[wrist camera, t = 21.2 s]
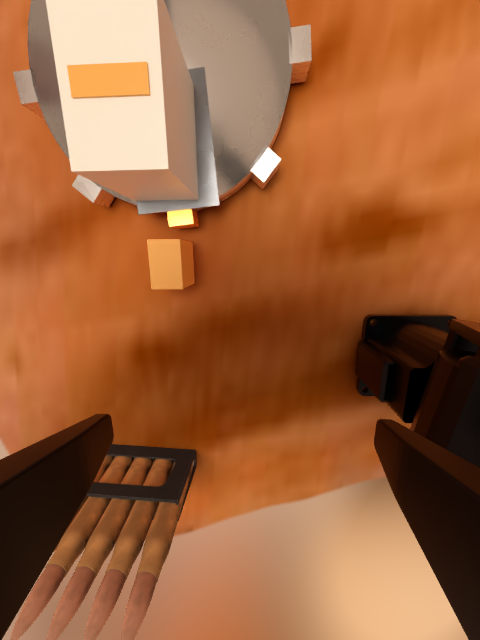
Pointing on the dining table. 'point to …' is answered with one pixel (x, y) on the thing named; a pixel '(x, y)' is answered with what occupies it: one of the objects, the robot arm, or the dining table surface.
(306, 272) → the dining table surface
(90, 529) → the ammunition clip
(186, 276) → the orange block
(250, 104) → the sprocket
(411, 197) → the dining table surface
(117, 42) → the link block
